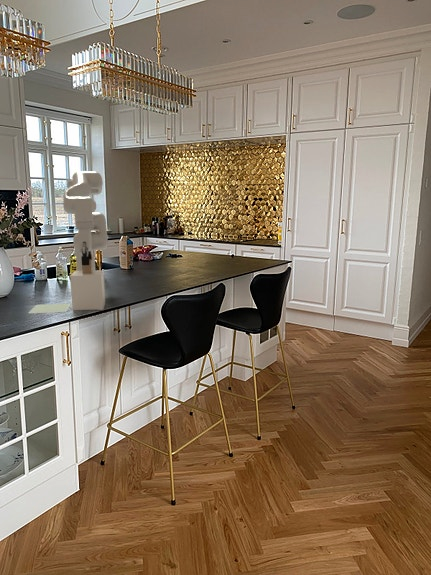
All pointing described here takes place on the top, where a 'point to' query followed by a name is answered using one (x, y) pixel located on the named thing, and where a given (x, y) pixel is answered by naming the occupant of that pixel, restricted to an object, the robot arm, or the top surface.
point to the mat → (50, 308)
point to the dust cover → (88, 288)
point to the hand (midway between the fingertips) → (87, 263)
